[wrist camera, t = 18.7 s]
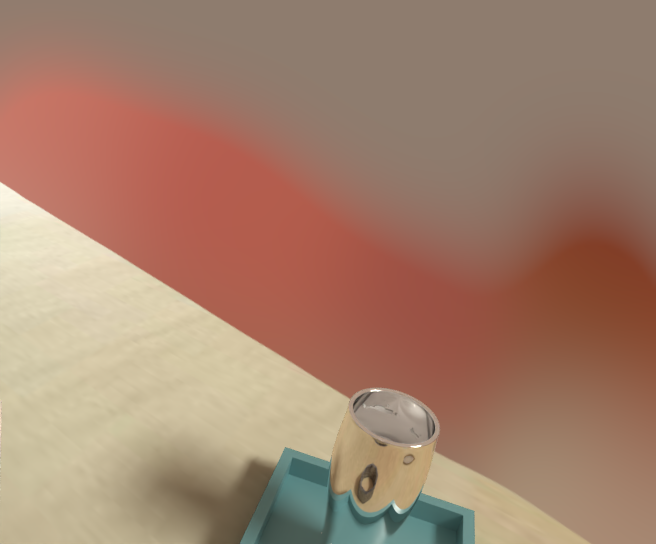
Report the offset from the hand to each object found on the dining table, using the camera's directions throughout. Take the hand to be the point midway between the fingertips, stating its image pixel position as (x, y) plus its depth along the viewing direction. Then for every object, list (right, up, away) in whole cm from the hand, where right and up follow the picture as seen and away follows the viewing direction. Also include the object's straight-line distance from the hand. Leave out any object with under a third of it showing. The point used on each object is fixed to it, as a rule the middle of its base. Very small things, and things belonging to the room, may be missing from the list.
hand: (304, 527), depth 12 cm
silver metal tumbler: (+2, -18, +35) cm, 39 cm away
